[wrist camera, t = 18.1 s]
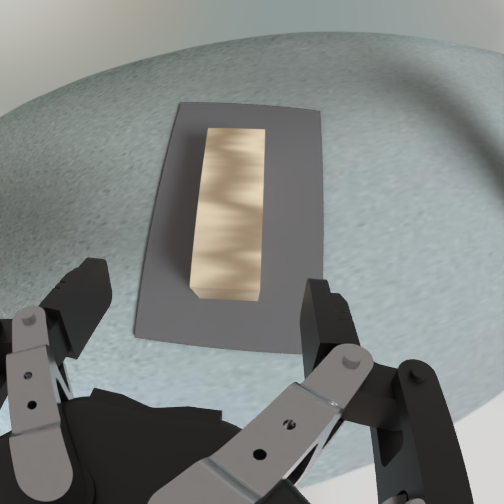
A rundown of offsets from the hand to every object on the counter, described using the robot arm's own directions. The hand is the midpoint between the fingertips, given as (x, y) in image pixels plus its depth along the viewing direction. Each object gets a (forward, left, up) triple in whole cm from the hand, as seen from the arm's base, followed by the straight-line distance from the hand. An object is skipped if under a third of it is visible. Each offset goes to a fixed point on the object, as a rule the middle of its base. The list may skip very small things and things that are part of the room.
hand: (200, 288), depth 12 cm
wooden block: (0, -2, -13) cm, 13 cm away
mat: (0, -11, -16) cm, 19 cm away
